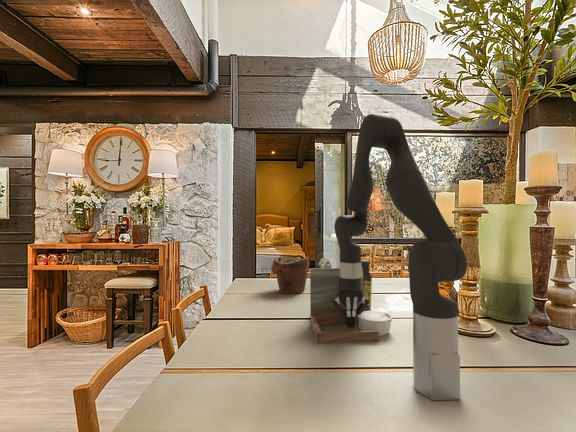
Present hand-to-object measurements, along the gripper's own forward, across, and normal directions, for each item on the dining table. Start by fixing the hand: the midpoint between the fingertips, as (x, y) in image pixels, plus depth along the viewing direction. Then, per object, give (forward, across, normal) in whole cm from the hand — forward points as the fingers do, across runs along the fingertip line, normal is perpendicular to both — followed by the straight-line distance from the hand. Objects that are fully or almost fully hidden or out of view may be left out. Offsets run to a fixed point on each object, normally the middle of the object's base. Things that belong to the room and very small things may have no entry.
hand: (350, 327), depth 111 cm
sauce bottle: (+2, +13, +27) cm, 30 cm away
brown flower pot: (+2, -15, +61) cm, 63 cm away
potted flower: (+2, -6, +17) cm, 18 cm away
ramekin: (+2, +8, 0) cm, 8 cm away
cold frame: (+2, -2, 0) cm, 3 cm away
